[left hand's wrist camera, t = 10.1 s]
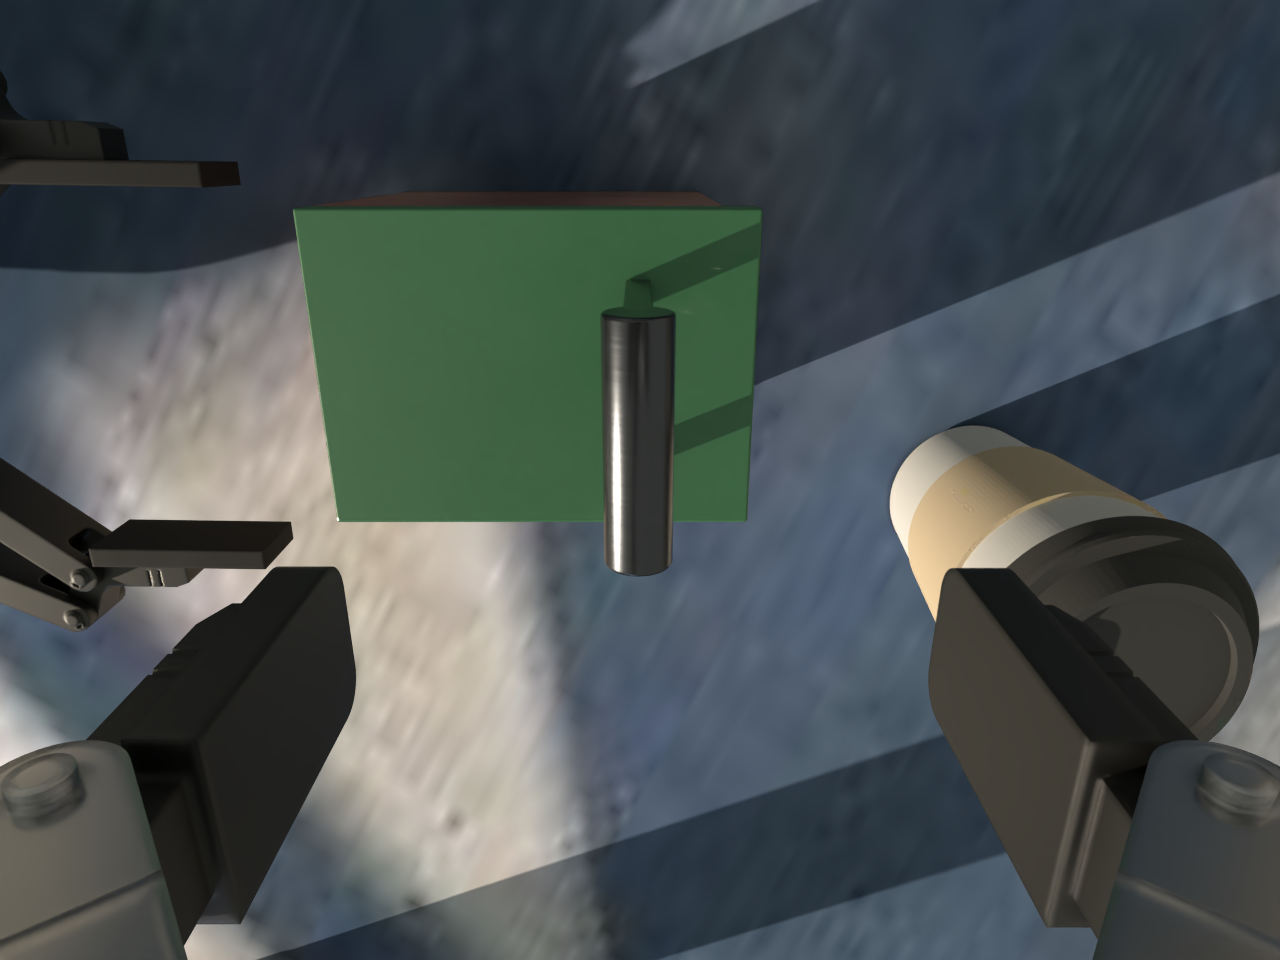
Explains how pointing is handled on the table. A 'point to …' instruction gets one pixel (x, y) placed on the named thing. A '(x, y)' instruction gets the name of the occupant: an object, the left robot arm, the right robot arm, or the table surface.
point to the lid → (537, 364)
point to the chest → (534, 198)
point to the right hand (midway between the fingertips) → (253, 374)
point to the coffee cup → (1085, 563)
